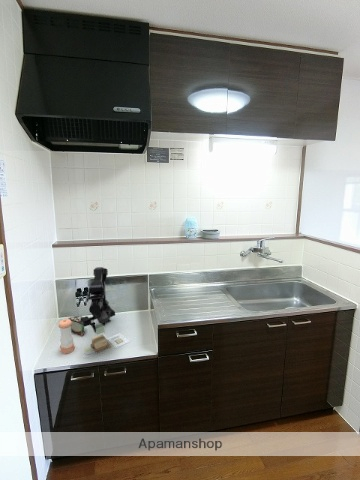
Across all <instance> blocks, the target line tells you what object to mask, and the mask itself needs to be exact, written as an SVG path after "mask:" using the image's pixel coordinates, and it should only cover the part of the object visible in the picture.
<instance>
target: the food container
mask: <svg viewBox="0 0 360 480" xmlns="http://www.w3.org/2000/svg"><path fill="white" fill-rule="evenodd" d="M83 317H84V316H82V315H74V316H70V317H68V318H67V319H70V320H71V321H72V325H71V332H72V335H76V336H79V337H83V336H84V335H85V327H84V326H83V325H82V324H81V323H80V319H81V318H83Z"/></svg>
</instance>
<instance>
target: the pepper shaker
mask: <svg viewBox="0 0 360 480" xmlns="http://www.w3.org/2000/svg"><path fill="white" fill-rule="evenodd" d="M71 325H72V321H71V320H70V319H68V318H64V319H61V320H60V321H59V322H58V325H57V326H58V328H59V331H60V340H59V341H60V346H59V348H60V353H61V354H63V355H65V354H70V353H72V352H73V351H74V350H75V343H74V336H73V333H72V332H71Z"/></svg>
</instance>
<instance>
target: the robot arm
mask: <svg viewBox="0 0 360 480" xmlns="http://www.w3.org/2000/svg"><path fill="white" fill-rule="evenodd" d="M108 273H109V271H108V269H107V268H105V267H104V266H103V267H102V266H100V267H99V266H98V267H95V268H94V269H93V276H94V277H93V281H92V282H90V285H89V286H88V301H89V300H90V301H91V302H90V305H89V308H88V310H89V313H90V314H91V315H92V316H91V317H89V316H88V315H87V316H82V317H83V318H81V319H80V323H81V324H82V325H83V326H84V328H85V327H88V326H91V328H92V330H93V333H95V332H96V328H95V325H96V324H97V323H96V322H95V320H97V321H98V323H100V324H101V323H102V324H103V325H104V327H105V326H106V324H107V323H110V322H111V321H112V320H111V319H110V318H112V317H114V316H116V311H115V310H114V309H112V307H111V306H110V303H109V301H108V300H107V295H106V281H107V277H108Z"/></svg>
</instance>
